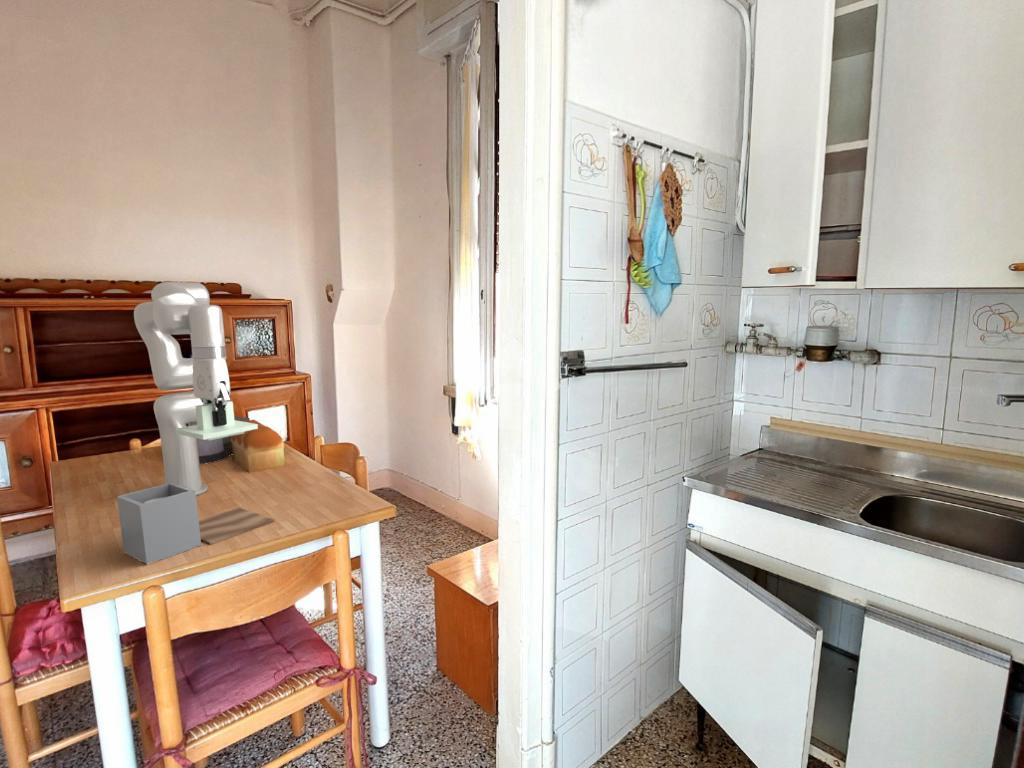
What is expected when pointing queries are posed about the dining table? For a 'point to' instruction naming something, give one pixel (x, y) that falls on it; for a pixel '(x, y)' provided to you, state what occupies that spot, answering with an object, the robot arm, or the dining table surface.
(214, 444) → the juicer
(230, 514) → the walnut board
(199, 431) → the box lid
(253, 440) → the bread
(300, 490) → the dining table surface
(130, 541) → the storage box
